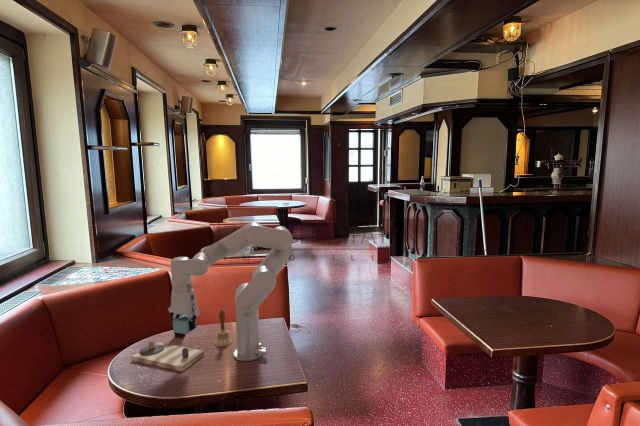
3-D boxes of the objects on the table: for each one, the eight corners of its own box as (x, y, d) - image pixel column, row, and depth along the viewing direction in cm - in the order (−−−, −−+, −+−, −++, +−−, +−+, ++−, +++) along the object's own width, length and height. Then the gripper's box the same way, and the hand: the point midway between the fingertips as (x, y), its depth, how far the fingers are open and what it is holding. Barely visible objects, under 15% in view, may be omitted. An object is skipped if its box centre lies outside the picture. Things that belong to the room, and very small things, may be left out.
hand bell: (229, 346, 171) (228, 313, 169) (211, 346, 171) (210, 313, 169) (234, 338, 179) (233, 306, 177) (217, 338, 179) (215, 306, 177)
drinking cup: (168, 337, 180) (166, 297, 178) (180, 331, 187) (178, 292, 185) (179, 340, 177) (177, 300, 175) (191, 334, 184) (190, 295, 181)
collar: (196, 327, 158) (196, 316, 158) (186, 334, 152) (185, 322, 152) (184, 325, 161) (183, 314, 160) (173, 332, 154) (172, 320, 154)
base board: (204, 355, 163) (203, 342, 162) (182, 371, 150) (181, 357, 149) (155, 345, 172) (154, 333, 172) (130, 360, 159) (129, 346, 158)
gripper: (205, 286, 155) (208, 327, 157) (171, 282, 161) (174, 322, 163) (193, 291, 148) (196, 334, 150) (158, 288, 154) (162, 329, 156)
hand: (185, 328), depth 156 cm, fingers closed on collar, 6 cm apart
